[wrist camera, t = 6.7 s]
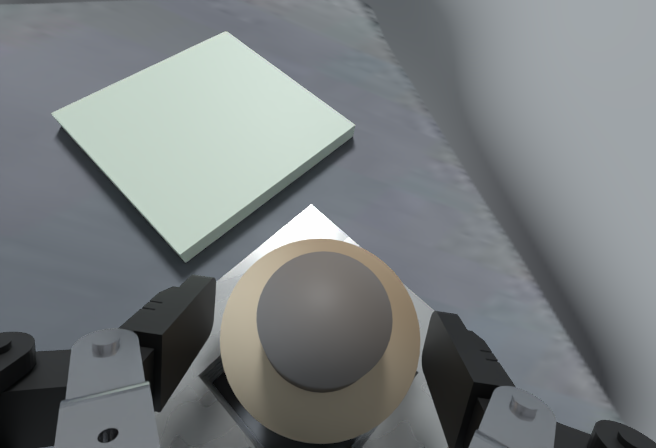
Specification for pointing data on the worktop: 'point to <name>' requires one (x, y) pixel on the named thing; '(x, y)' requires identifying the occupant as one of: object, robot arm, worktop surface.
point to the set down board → (204, 138)
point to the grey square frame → (196, 386)
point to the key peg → (320, 341)
